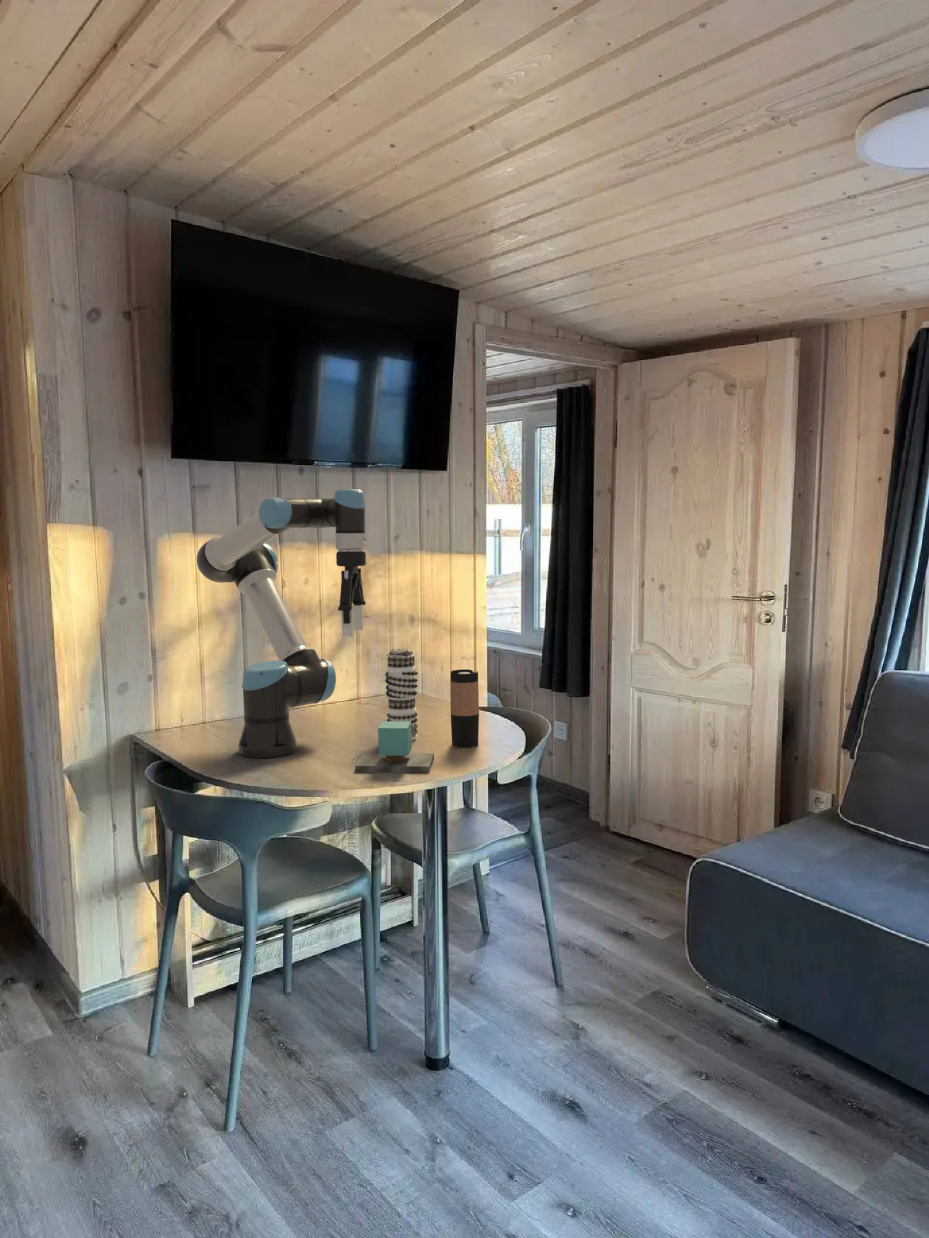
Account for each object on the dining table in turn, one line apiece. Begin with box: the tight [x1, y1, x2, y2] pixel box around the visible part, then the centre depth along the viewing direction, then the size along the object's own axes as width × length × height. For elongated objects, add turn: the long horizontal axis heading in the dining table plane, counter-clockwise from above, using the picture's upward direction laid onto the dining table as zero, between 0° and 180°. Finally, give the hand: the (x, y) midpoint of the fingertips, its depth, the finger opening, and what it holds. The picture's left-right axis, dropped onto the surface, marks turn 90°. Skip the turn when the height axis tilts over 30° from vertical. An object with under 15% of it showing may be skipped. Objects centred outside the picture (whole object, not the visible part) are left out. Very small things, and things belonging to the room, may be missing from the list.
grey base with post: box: [354, 752, 435, 774], centre depth 213 cm, size 18×12×10 cm, turn 87°
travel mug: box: [450, 668, 480, 748], centre depth 232 cm, size 8×8×20 cm
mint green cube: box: [377, 720, 413, 756], centre depth 213 cm, size 7×7×7 cm
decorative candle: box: [384, 648, 419, 741], centre depth 240 cm, size 9×9×25 cm
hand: (353, 633), depth 222 cm, fingers open, 13 cm apart
